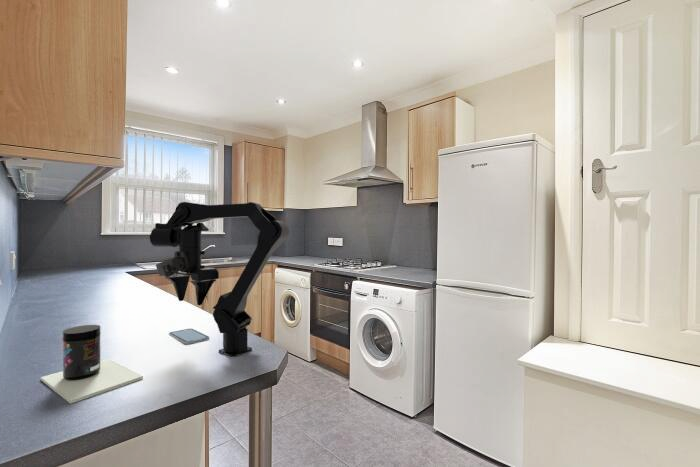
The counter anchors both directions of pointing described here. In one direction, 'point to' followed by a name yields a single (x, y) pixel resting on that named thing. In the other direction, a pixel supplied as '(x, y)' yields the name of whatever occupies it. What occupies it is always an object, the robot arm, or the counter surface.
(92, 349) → the supplement container
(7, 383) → the counter surface
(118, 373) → the mat
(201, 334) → the smartphone
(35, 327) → the counter surface
